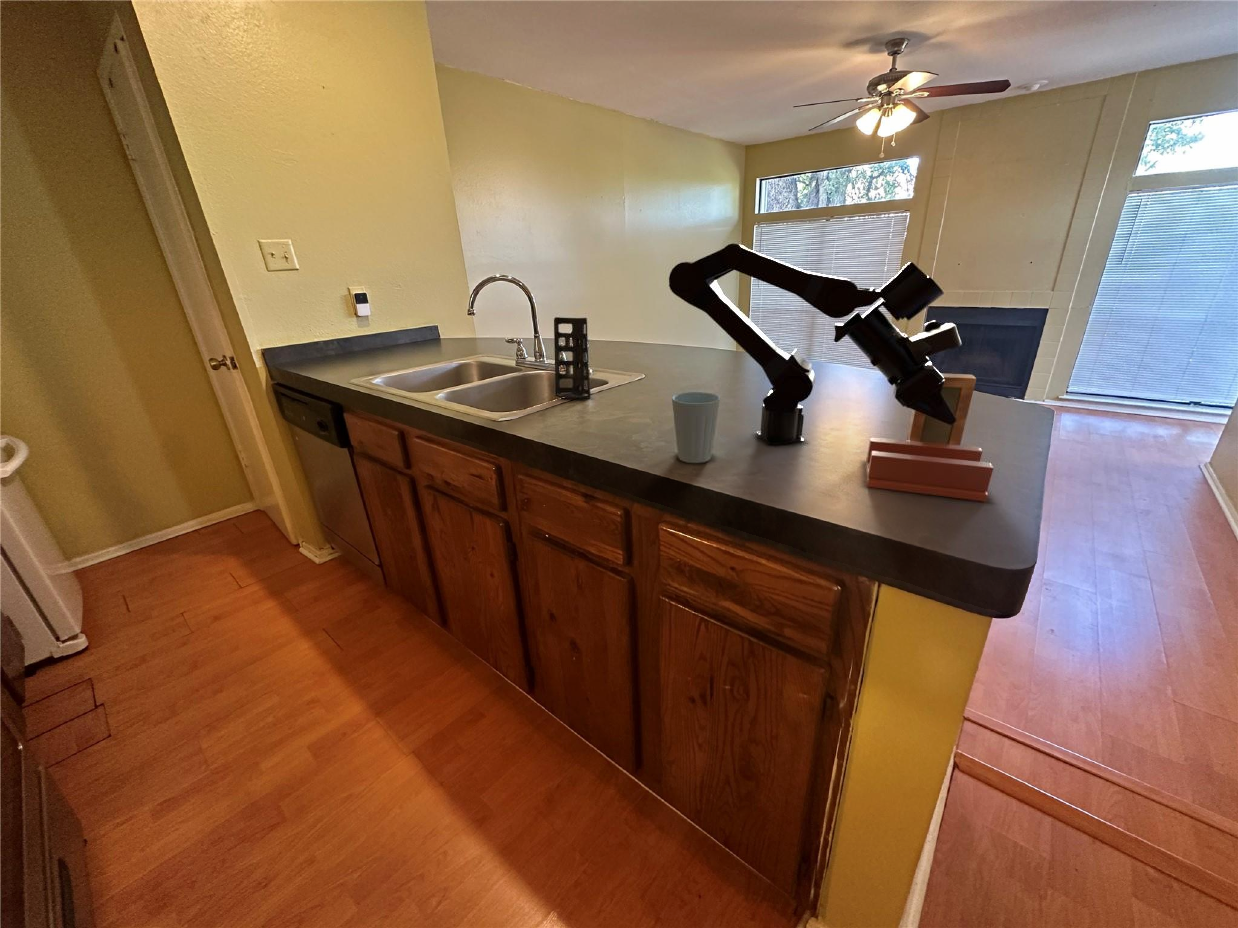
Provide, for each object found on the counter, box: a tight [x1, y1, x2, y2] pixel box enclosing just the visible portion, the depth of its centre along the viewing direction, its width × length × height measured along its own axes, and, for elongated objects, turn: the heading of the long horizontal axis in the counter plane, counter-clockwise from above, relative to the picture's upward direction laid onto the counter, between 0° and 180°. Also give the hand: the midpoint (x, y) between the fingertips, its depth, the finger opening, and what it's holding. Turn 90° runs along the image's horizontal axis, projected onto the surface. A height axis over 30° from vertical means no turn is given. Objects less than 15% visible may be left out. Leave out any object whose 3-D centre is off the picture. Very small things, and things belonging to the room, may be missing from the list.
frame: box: [906, 372, 977, 446], centre depth 76 cm, size 7×3×13 cm, turn 65°
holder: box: [553, 316, 592, 401], centre depth 122 cm, size 11×8×20 cm
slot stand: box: [865, 437, 994, 503], centre depth 68 cm, size 14×10×4 cm
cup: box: [671, 391, 721, 464], centre depth 79 cm, size 8×8×10 cm
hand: (948, 414), depth 76 cm, fingers open, 9 cm apart
